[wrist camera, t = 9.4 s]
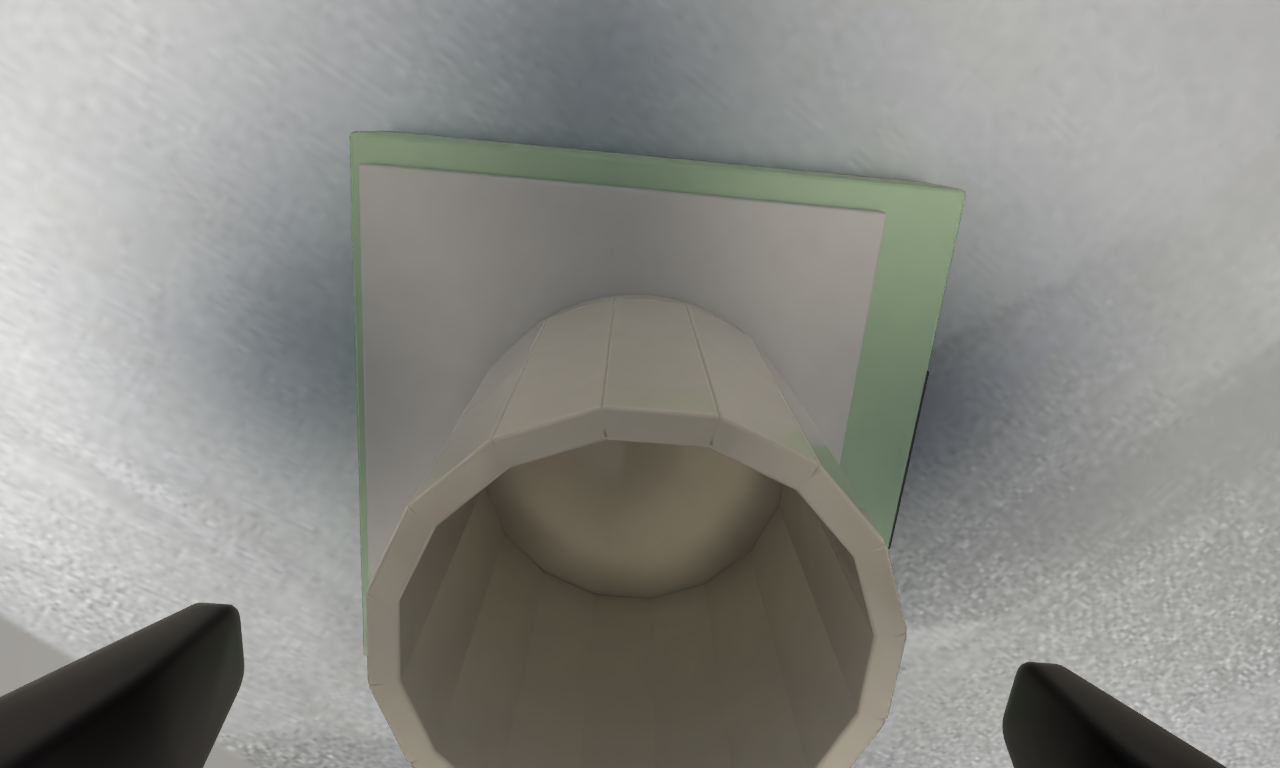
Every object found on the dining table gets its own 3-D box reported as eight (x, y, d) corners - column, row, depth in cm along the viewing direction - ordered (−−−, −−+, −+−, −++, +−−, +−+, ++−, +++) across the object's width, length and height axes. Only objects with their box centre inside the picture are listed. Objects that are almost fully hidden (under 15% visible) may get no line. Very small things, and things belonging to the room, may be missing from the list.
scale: (841, 637, 19) (869, 706, 17) (390, 604, 19) (356, 670, 16) (935, 183, 16) (987, 192, 13) (383, 130, 15) (339, 130, 13)
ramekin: (774, 609, 16) (851, 875, 10) (466, 586, 16) (371, 846, 10) (825, 309, 14) (956, 434, 8) (472, 279, 14) (358, 385, 8)
